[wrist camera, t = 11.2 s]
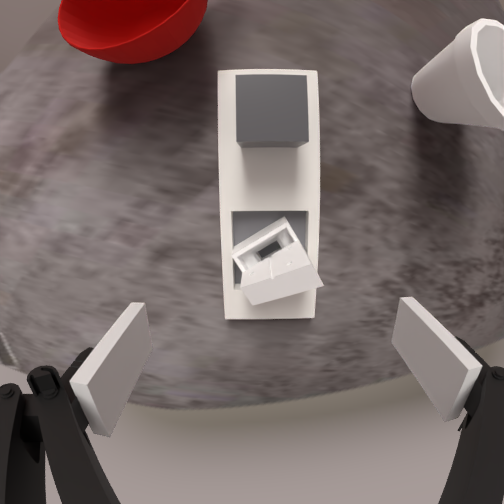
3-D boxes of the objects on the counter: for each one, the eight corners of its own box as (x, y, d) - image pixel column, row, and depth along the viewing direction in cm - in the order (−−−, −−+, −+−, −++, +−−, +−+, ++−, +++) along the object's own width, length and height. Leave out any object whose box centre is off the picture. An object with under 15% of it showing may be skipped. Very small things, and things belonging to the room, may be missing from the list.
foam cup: (384, 96, 26) (455, 63, 13) (416, 42, 23) (482, -1, 11) (447, 152, 27) (530, 155, 14) (474, 96, 25) (549, 81, 12)
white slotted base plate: (227, 310, 32) (218, 352, 24) (220, 76, 26) (207, 47, 18) (311, 309, 32) (325, 350, 24) (313, 76, 25) (331, 47, 18)
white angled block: (347, 230, 27) (324, 285, 20) (265, 261, 33) (224, 312, 26) (328, 195, 26) (297, 240, 19) (247, 233, 32) (200, 279, 25)
